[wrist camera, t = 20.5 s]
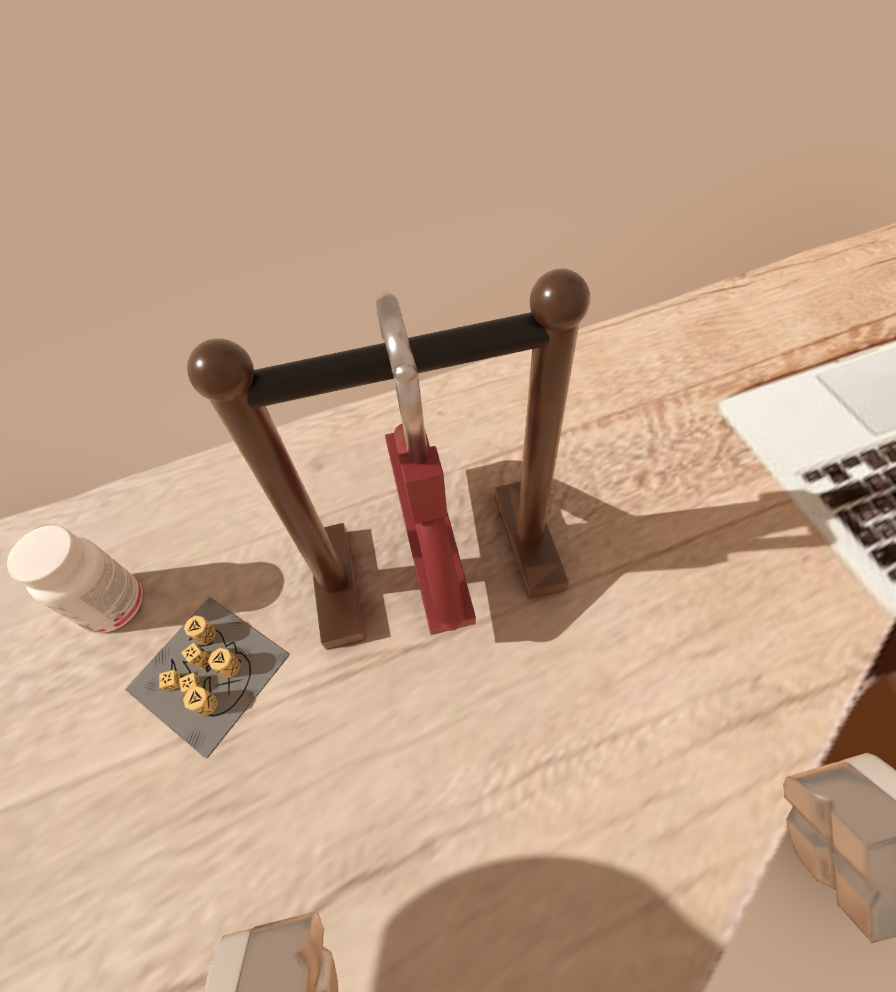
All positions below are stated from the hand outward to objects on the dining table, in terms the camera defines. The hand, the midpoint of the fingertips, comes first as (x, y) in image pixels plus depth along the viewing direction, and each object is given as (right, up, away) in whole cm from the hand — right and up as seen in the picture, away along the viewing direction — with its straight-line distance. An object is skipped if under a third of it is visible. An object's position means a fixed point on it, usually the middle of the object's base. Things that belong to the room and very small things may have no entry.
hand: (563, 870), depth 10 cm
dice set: (-19, -6, +31) cm, 36 cm away
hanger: (-3, +4, +31) cm, 32 cm away
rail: (-3, +1, +34) cm, 34 cm away
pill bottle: (-27, -2, +34) cm, 43 cm away
